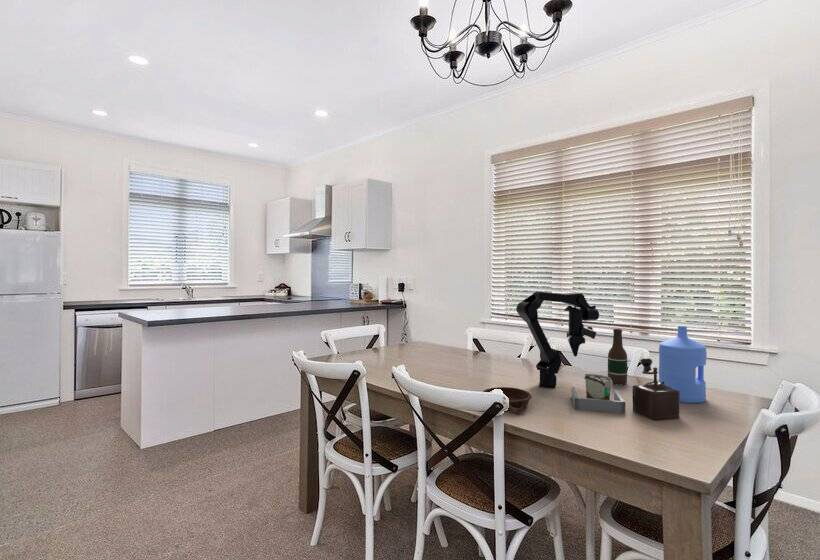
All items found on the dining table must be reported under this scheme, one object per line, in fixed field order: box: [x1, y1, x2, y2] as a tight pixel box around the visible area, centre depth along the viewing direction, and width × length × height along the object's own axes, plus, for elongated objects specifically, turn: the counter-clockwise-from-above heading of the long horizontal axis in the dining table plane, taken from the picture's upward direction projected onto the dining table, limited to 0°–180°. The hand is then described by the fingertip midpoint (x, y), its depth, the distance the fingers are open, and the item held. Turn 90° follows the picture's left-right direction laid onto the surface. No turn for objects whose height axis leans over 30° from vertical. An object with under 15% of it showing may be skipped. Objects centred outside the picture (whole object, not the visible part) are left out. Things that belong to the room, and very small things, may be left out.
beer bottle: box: [607, 328, 628, 386], centre depth 185 cm, size 8×8×24 cm
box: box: [571, 386, 626, 414], centre depth 155 cm, size 16×15×4 cm
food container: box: [584, 373, 614, 400], centre depth 156 cm, size 12×6×10 cm, turn 13°
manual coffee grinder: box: [631, 357, 681, 422], centre depth 147 cm, size 16×11×18 cm
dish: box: [482, 386, 533, 414], centre depth 154 cm, size 18×22×5 cm
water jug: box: [658, 325, 707, 404], centre depth 163 cm, size 16×16×28 cm
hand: (575, 356), depth 184 cm, fingers closed
